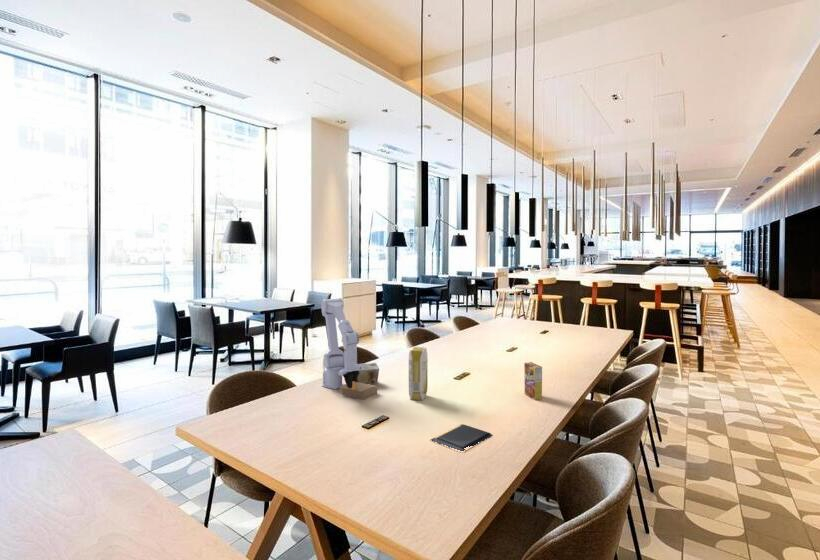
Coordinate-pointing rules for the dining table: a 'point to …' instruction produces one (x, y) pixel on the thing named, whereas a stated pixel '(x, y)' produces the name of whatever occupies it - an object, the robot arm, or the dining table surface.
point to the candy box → (533, 380)
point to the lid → (357, 387)
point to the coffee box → (368, 373)
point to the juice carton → (418, 373)
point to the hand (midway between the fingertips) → (351, 387)
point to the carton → (360, 395)
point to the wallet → (462, 437)
